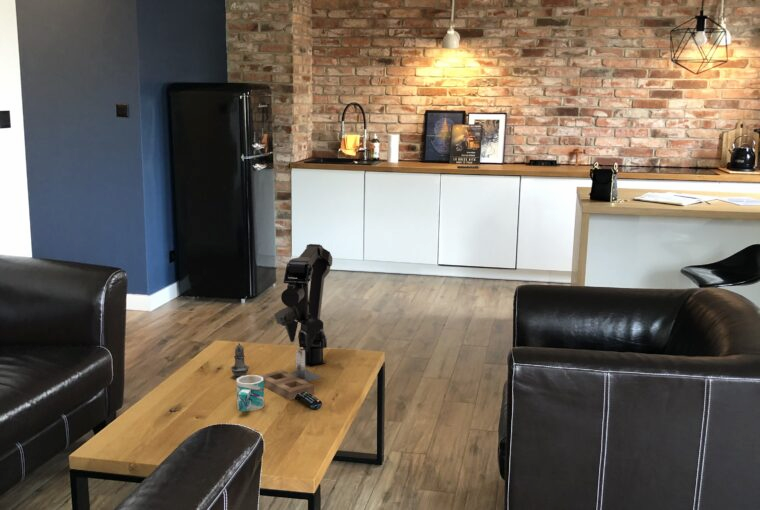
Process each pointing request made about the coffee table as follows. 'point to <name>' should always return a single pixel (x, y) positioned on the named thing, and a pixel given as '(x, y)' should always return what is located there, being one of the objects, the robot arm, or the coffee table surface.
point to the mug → (250, 392)
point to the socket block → (286, 384)
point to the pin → (300, 363)
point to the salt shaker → (239, 363)
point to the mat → (308, 376)
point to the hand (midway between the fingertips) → (300, 345)
